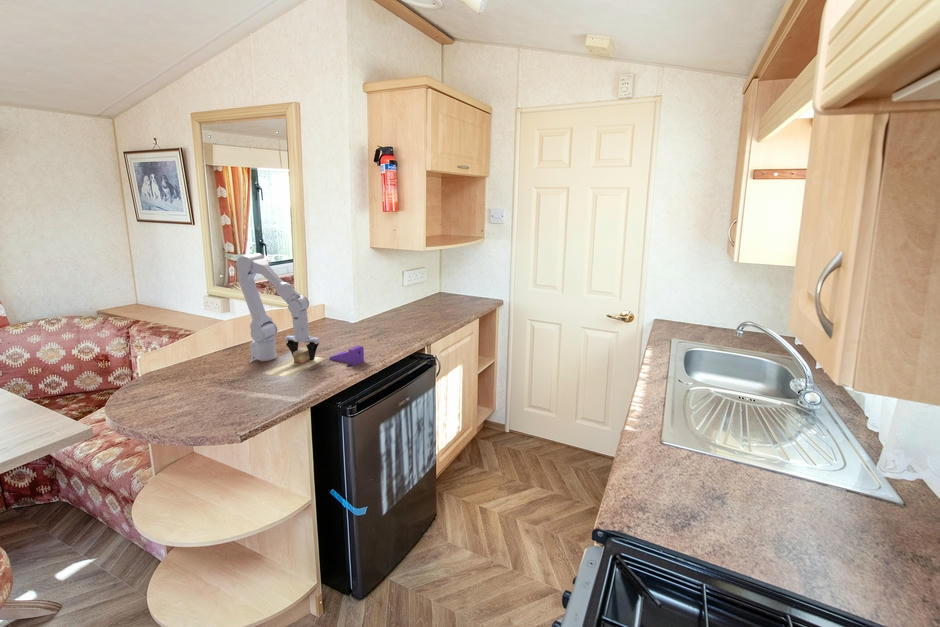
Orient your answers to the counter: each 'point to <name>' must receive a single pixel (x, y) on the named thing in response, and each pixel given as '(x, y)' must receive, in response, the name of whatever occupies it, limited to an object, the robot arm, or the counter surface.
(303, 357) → the block
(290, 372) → the board
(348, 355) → the bracket
